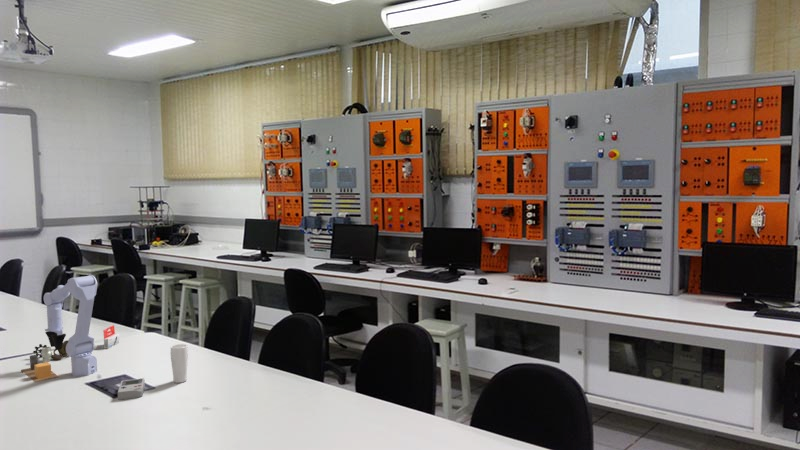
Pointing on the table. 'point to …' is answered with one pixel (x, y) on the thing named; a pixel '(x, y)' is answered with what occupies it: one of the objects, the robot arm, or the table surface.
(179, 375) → the drinking glass
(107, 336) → the ink cartridge box
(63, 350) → the brown rounded piece
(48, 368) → the cube
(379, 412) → the table surface
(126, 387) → the handheld gaming device
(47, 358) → the valve
